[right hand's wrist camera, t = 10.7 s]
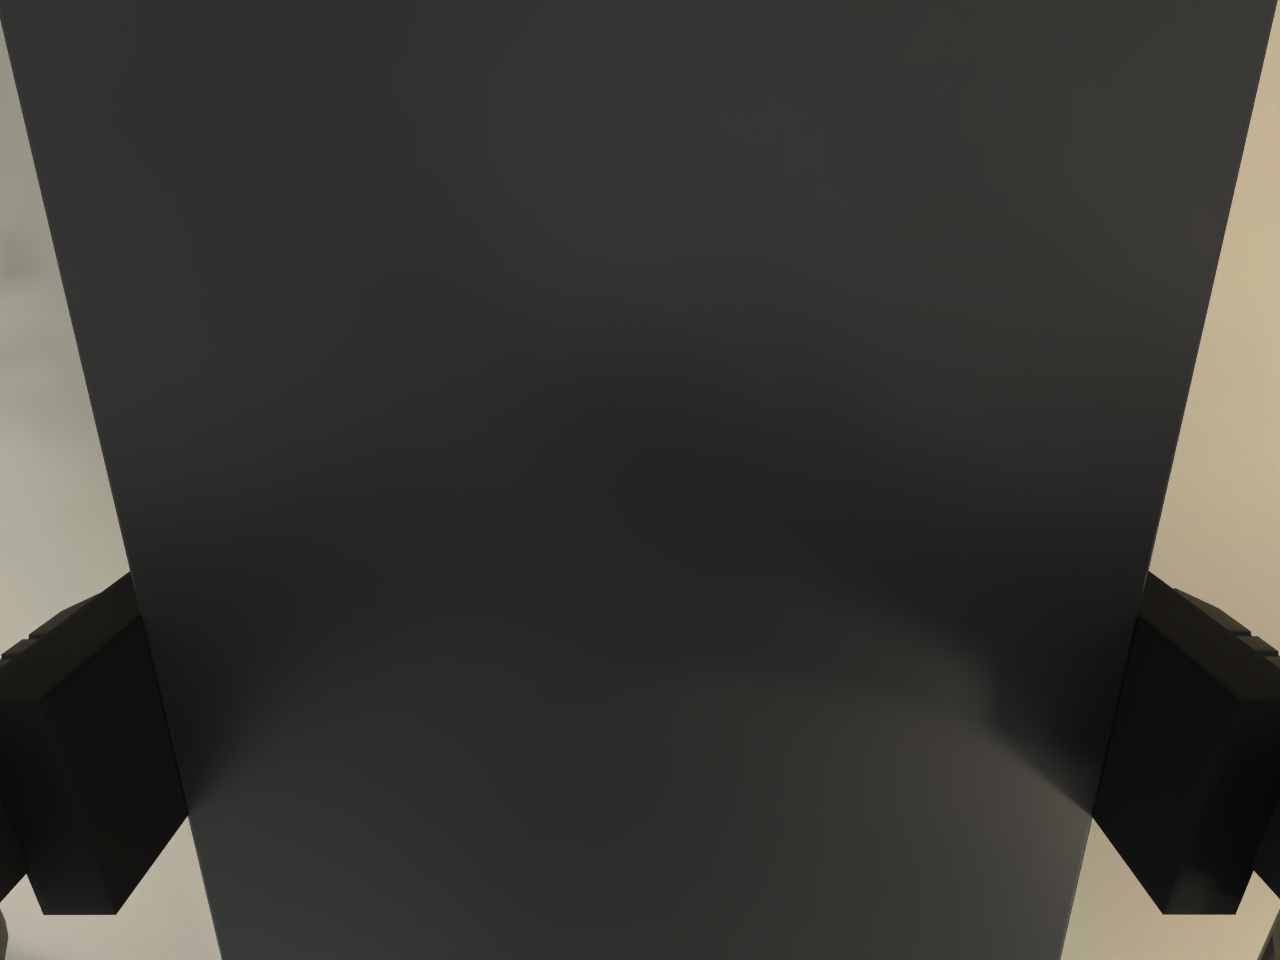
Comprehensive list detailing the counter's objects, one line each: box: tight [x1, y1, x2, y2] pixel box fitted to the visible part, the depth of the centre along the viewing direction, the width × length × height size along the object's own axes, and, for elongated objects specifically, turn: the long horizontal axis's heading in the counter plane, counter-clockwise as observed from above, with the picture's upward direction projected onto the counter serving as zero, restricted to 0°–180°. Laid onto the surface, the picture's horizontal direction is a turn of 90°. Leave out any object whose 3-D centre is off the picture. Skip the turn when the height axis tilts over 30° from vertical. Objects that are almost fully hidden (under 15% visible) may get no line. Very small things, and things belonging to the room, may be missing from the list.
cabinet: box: [0, 0, 1277, 960], centre depth 11 cm, size 16×11×8 cm
